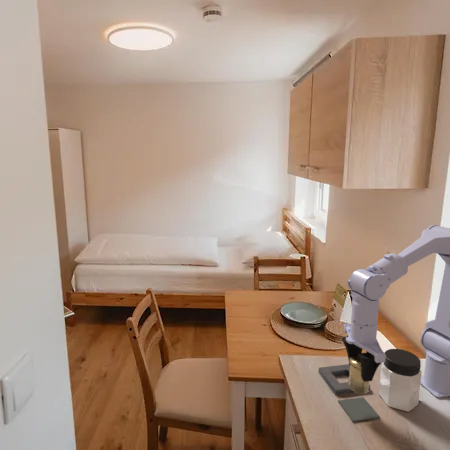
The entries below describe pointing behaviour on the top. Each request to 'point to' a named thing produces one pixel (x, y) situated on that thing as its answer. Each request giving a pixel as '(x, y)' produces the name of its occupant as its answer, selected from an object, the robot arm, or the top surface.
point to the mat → (358, 409)
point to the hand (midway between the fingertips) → (360, 373)
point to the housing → (332, 382)
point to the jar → (400, 379)
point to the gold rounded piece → (357, 376)
